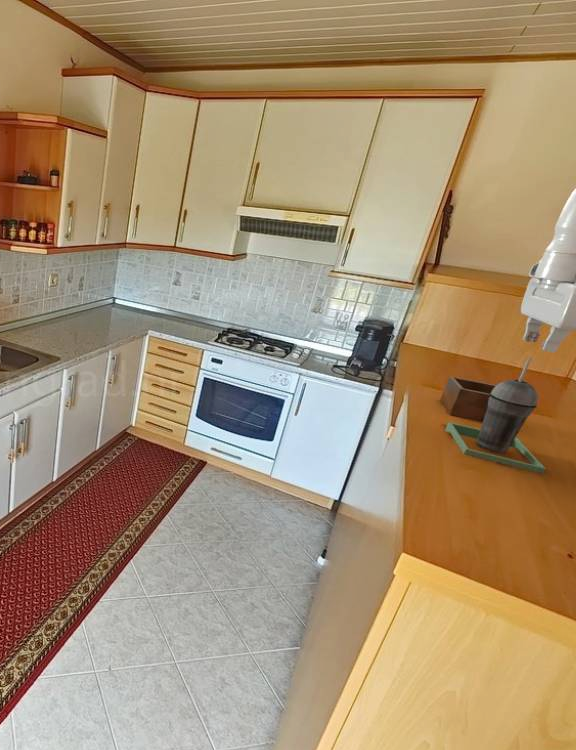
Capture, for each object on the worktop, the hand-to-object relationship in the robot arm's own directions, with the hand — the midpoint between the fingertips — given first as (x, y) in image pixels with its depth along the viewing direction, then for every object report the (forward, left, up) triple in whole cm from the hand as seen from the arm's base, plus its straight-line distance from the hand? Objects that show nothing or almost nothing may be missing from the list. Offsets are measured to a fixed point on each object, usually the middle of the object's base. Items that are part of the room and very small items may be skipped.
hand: (538, 346), depth 92 cm
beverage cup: (0, 0, -23) cm, 23 cm away
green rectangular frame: (0, 0, -23) cm, 23 cm away
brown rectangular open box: (-4, -30, -23) cm, 38 cm away
